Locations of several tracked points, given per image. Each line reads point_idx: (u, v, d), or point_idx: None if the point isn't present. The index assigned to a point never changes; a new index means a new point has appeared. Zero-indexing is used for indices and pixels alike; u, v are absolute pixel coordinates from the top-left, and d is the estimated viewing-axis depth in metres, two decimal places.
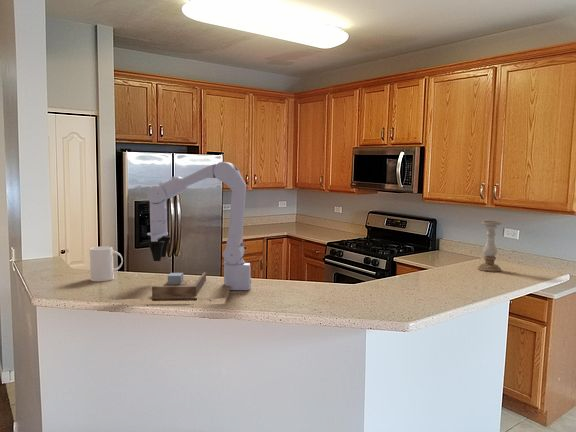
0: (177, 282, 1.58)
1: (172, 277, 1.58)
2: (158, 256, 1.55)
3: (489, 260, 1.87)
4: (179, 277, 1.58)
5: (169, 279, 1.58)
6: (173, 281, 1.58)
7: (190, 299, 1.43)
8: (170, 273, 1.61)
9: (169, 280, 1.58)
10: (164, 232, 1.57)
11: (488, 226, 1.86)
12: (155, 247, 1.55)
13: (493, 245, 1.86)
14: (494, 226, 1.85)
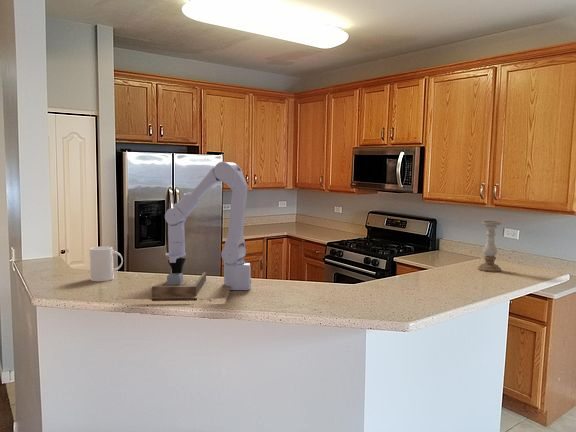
0: (176, 283, 1.57)
1: (171, 277, 1.57)
2: None
3: (489, 260, 1.87)
4: (178, 277, 1.57)
5: (168, 280, 1.57)
6: (172, 281, 1.57)
7: (190, 299, 1.43)
8: None
9: (168, 280, 1.57)
10: (182, 253, 1.61)
11: (488, 226, 1.86)
12: (175, 266, 1.62)
13: (493, 245, 1.86)
14: (494, 226, 1.85)
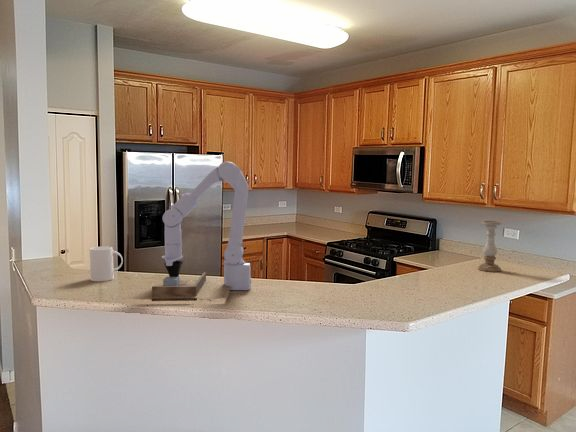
0: None
1: (168, 281, 1.52)
2: None
3: (489, 260, 1.87)
4: (175, 281, 1.52)
5: (165, 284, 1.52)
6: (169, 285, 1.52)
7: (190, 299, 1.43)
8: (166, 277, 1.56)
9: (165, 284, 1.52)
10: (179, 255, 1.55)
11: (488, 226, 1.86)
12: (172, 269, 1.57)
13: (493, 245, 1.86)
14: (494, 226, 1.85)
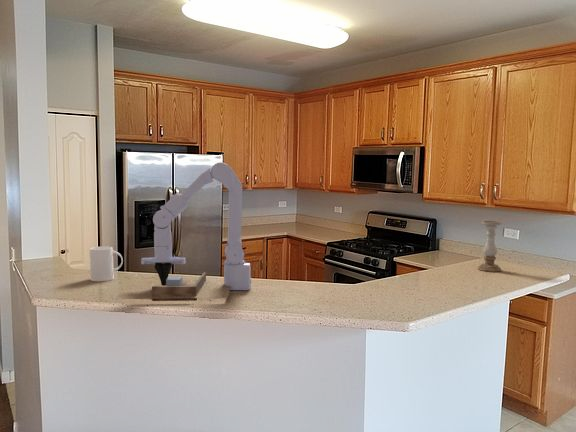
0: None
1: (171, 281, 1.52)
2: None
3: (489, 260, 1.87)
4: (178, 281, 1.52)
5: (168, 284, 1.52)
6: (172, 285, 1.52)
7: (190, 299, 1.43)
8: (169, 277, 1.56)
9: (168, 284, 1.52)
10: (156, 258, 1.51)
11: (488, 226, 1.86)
12: None
13: (493, 245, 1.86)
14: (494, 226, 1.85)
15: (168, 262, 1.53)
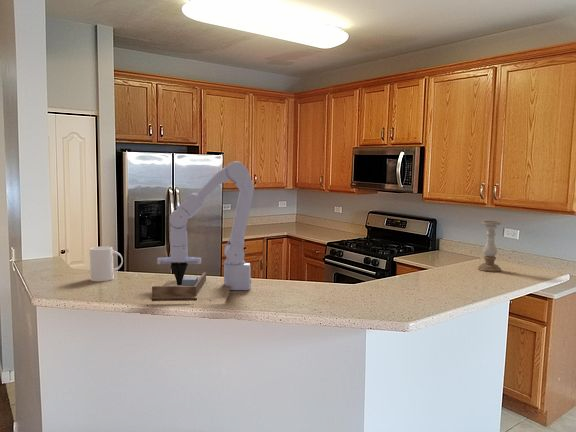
0: None
1: (187, 281, 1.52)
2: None
3: (489, 260, 1.87)
4: (194, 281, 1.52)
5: (184, 284, 1.52)
6: (188, 285, 1.52)
7: (190, 299, 1.43)
8: (184, 277, 1.56)
9: (184, 284, 1.52)
10: (172, 258, 1.51)
11: (488, 226, 1.86)
12: None
13: (493, 245, 1.86)
14: (494, 226, 1.85)
15: (184, 262, 1.54)
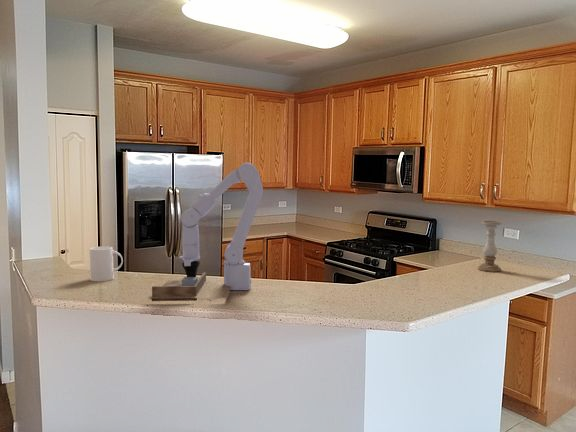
0: None
1: (186, 281, 1.52)
2: None
3: (489, 260, 1.87)
4: (194, 281, 1.52)
5: (183, 284, 1.52)
6: (187, 285, 1.52)
7: (190, 299, 1.43)
8: (184, 277, 1.55)
9: (183, 284, 1.52)
10: (196, 256, 1.55)
11: (488, 226, 1.86)
12: (190, 269, 1.56)
13: (493, 245, 1.86)
14: (494, 226, 1.85)
15: None
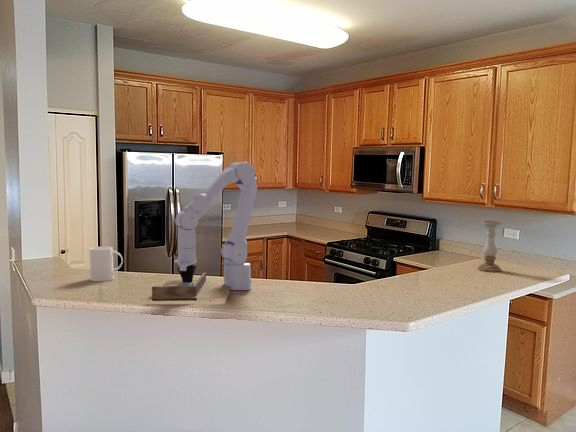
0: None
1: None
2: None
3: (489, 260, 1.87)
4: None
5: None
6: None
7: (190, 299, 1.43)
8: None
9: None
10: (193, 260, 1.48)
11: (488, 226, 1.86)
12: (186, 274, 1.49)
13: (493, 245, 1.86)
14: (494, 226, 1.85)
15: None
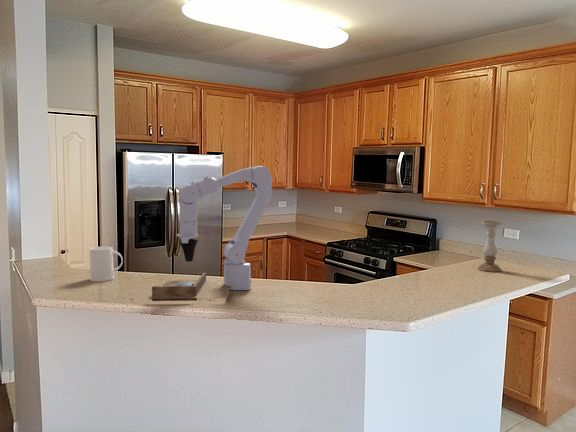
0: None
1: None
2: (190, 256, 1.53)
3: (489, 260, 1.87)
4: None
5: None
6: None
7: (190, 299, 1.43)
8: None
9: None
10: (194, 233, 1.51)
11: (488, 226, 1.86)
12: (187, 247, 1.52)
13: (493, 245, 1.86)
14: (494, 226, 1.85)
15: (190, 237, 1.55)
